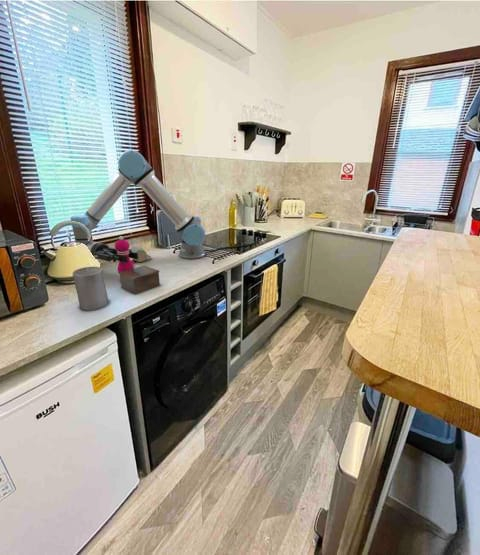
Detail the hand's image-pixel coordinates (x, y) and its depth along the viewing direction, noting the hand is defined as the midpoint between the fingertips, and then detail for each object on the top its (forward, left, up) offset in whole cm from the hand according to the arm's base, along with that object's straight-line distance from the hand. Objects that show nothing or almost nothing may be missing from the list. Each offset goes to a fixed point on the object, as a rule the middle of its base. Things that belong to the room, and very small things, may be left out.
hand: (132, 257), depth 120 cm
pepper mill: (+1, -5, -11) cm, 12 cm away
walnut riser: (+1, +6, -12) cm, 13 cm away
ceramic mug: (-20, -27, -12) cm, 36 cm away
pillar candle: (+22, +8, -12) cm, 26 cm away
